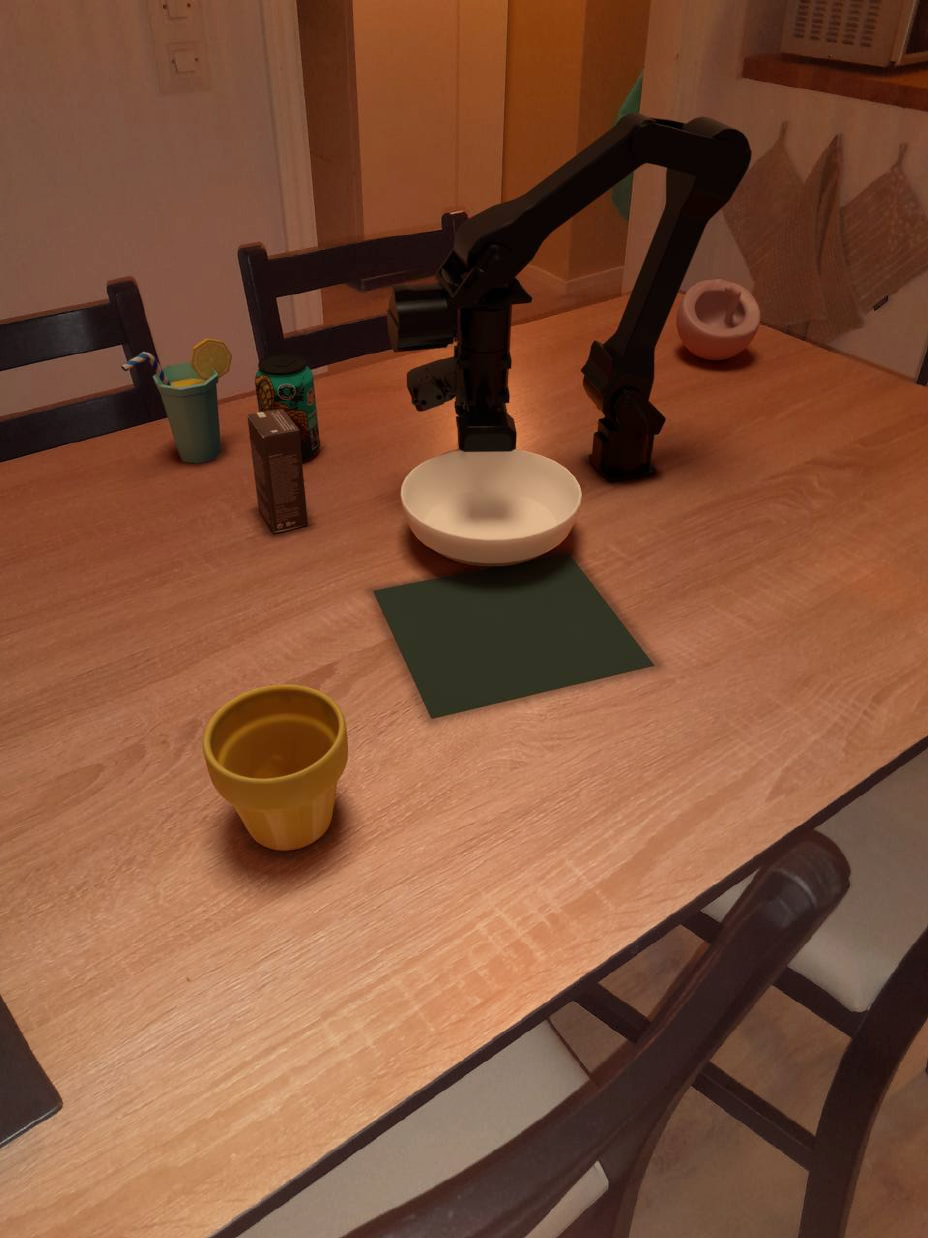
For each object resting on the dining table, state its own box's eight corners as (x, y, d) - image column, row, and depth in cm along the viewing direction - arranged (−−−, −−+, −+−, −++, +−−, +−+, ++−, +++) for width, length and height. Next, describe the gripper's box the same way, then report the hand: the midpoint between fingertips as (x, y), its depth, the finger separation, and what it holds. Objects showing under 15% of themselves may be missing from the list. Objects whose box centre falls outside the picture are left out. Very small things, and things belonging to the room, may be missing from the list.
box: (311, 525, 110) (300, 429, 102) (272, 534, 108) (259, 437, 101) (294, 500, 114) (283, 406, 107) (257, 508, 112) (243, 414, 105)
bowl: (454, 610, 97) (454, 560, 94) (373, 519, 111) (370, 471, 107) (613, 557, 105) (618, 508, 101) (519, 477, 118) (520, 432, 114)
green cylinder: (254, 459, 122) (241, 369, 114) (282, 434, 127) (271, 347, 119) (303, 469, 120) (293, 378, 112) (330, 444, 125) (322, 356, 117)
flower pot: (229, 773, 80) (210, 685, 74) (355, 765, 81) (346, 677, 75) (215, 876, 72) (192, 787, 66) (354, 867, 73) (344, 777, 67)
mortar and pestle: (689, 376, 141) (701, 298, 134) (659, 344, 151) (669, 270, 143) (765, 369, 143) (781, 292, 136) (731, 338, 152) (745, 265, 145)
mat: (567, 552, 106) (567, 551, 106) (654, 666, 91) (654, 665, 91) (373, 591, 100) (372, 590, 100) (431, 719, 85) (431, 718, 85)
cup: (166, 487, 116) (140, 369, 107) (129, 466, 120) (101, 351, 111) (257, 445, 124) (240, 332, 115) (219, 427, 128) (200, 316, 119)
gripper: (409, 308, 112) (411, 428, 122) (411, 380, 98) (413, 510, 108) (504, 308, 113) (498, 428, 123) (520, 380, 99) (512, 509, 108)
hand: (479, 466), depth 115 cm, fingers closed
